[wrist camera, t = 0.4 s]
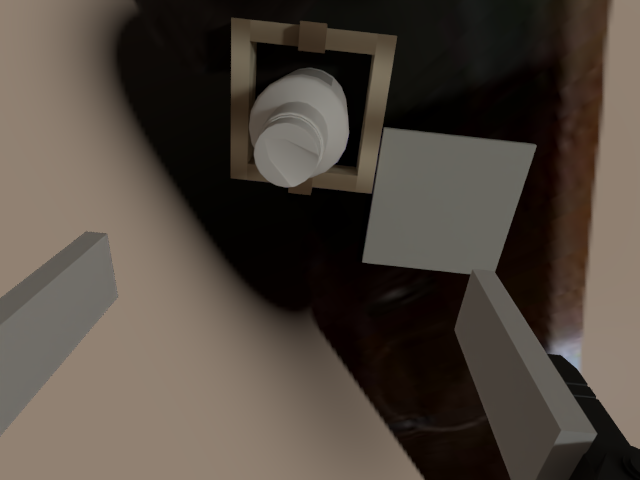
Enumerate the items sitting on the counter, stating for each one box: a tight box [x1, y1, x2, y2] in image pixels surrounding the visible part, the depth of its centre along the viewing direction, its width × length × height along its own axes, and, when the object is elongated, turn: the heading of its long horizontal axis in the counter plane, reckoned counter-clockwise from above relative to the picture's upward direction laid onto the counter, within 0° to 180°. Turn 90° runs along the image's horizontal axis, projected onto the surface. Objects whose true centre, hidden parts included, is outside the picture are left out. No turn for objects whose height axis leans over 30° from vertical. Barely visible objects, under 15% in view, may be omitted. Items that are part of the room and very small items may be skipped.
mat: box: [362, 127, 537, 274], centre depth 41 cm, size 14×14×1 cm
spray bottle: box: [249, 68, 349, 187], centre depth 29 cm, size 7×7×18 cm
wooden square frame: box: [231, 18, 397, 195], centre depth 35 cm, size 14×13×4 cm
